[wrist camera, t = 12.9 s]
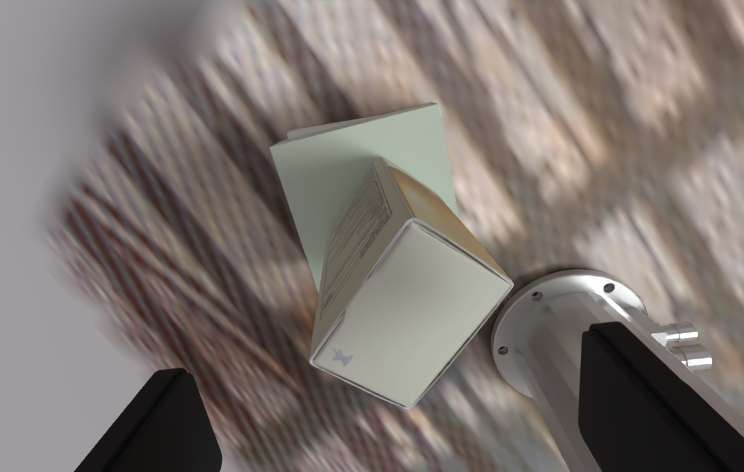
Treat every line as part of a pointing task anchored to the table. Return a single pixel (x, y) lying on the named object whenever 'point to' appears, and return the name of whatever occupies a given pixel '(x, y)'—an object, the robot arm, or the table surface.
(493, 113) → the table surface
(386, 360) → the skincare box
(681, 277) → the table surface
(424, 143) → the top slab
